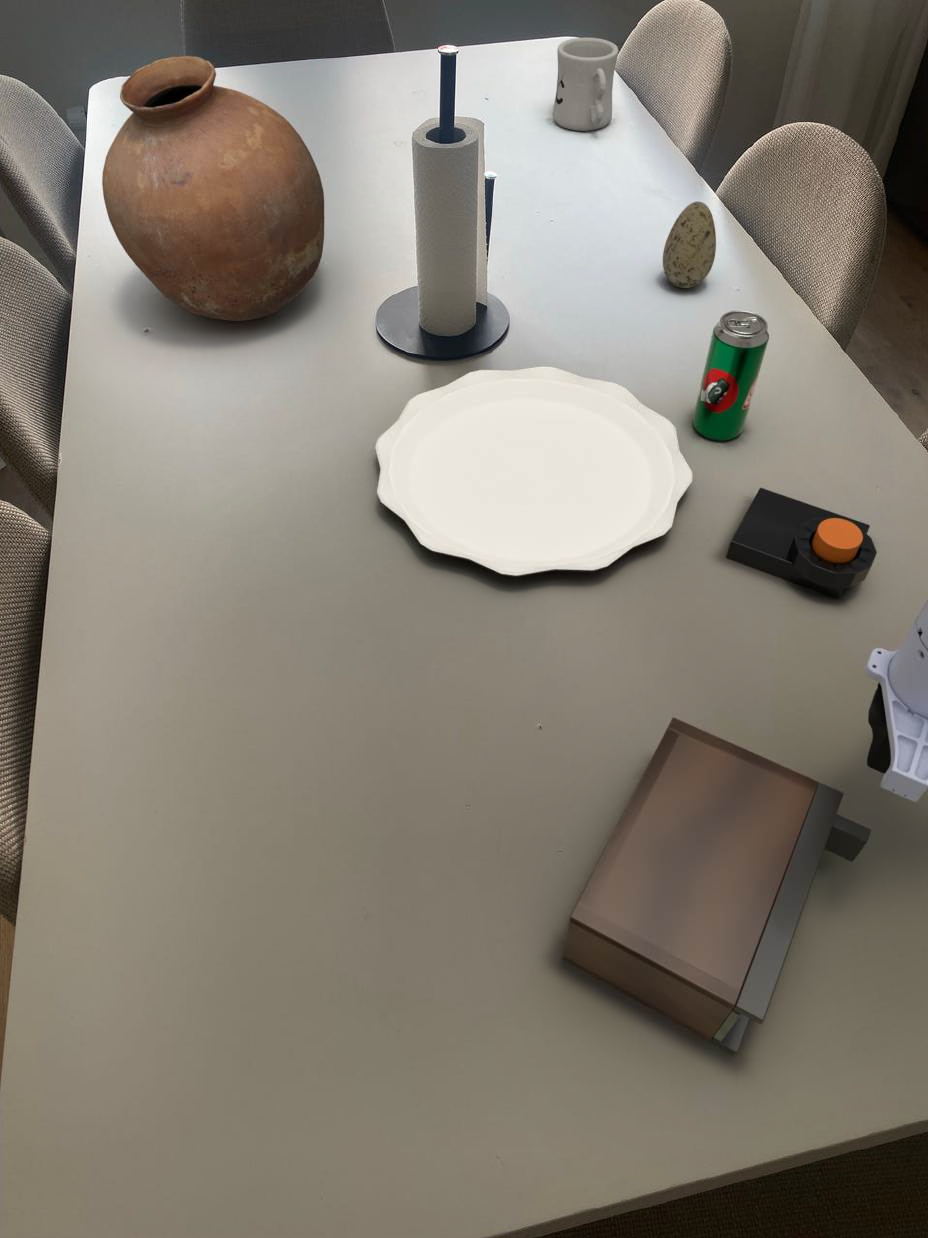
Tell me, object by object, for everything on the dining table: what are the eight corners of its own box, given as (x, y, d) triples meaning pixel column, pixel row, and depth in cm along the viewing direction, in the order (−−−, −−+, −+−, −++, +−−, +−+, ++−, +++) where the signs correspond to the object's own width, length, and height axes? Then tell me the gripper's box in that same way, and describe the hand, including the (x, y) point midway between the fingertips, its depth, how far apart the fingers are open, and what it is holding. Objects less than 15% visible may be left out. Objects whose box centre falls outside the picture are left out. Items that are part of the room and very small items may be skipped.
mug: (544, 111, 143) (548, 39, 135) (599, 105, 144) (607, 33, 136) (569, 144, 135) (575, 70, 127) (627, 138, 136) (636, 64, 129)
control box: (876, 547, 81) (892, 514, 78) (848, 616, 76) (864, 584, 73) (754, 504, 85) (765, 471, 82) (720, 567, 80) (730, 535, 77)
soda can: (746, 444, 91) (777, 338, 81) (695, 444, 91) (720, 338, 82) (737, 412, 94) (766, 307, 85) (688, 412, 94) (711, 307, 85)
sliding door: (852, 852, 62) (877, 817, 58) (818, 954, 57) (842, 924, 53) (805, 830, 63) (827, 794, 59) (768, 929, 58) (789, 898, 55)
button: (861, 542, 77) (868, 527, 75) (849, 569, 75) (856, 554, 74) (818, 527, 78) (824, 512, 77) (806, 553, 76) (812, 538, 75)
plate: (373, 393, 96) (371, 374, 95) (646, 377, 98) (650, 358, 96) (382, 602, 78) (380, 583, 76) (720, 578, 79) (726, 559, 77)
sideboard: (812, 842, 63) (844, 792, 58) (735, 1056, 54) (763, 1021, 49) (656, 769, 67) (673, 716, 62) (560, 959, 58) (569, 916, 53)
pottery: (360, 263, 114) (337, 36, 94) (288, 369, 99) (243, 127, 80) (194, 239, 118) (140, 18, 99) (102, 338, 104) (17, 101, 84)
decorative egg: (655, 294, 108) (669, 212, 101) (660, 269, 112) (674, 187, 104) (706, 300, 108) (724, 218, 100) (709, 275, 111) (727, 193, 104)
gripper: (925, 530, 55) (853, 665, 66) (863, 701, 47) (792, 823, 58) (1049, 573, 53) (954, 705, 63) (1006, 760, 45) (905, 876, 55)
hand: (884, 764), depth 60 cm, fingers closed
